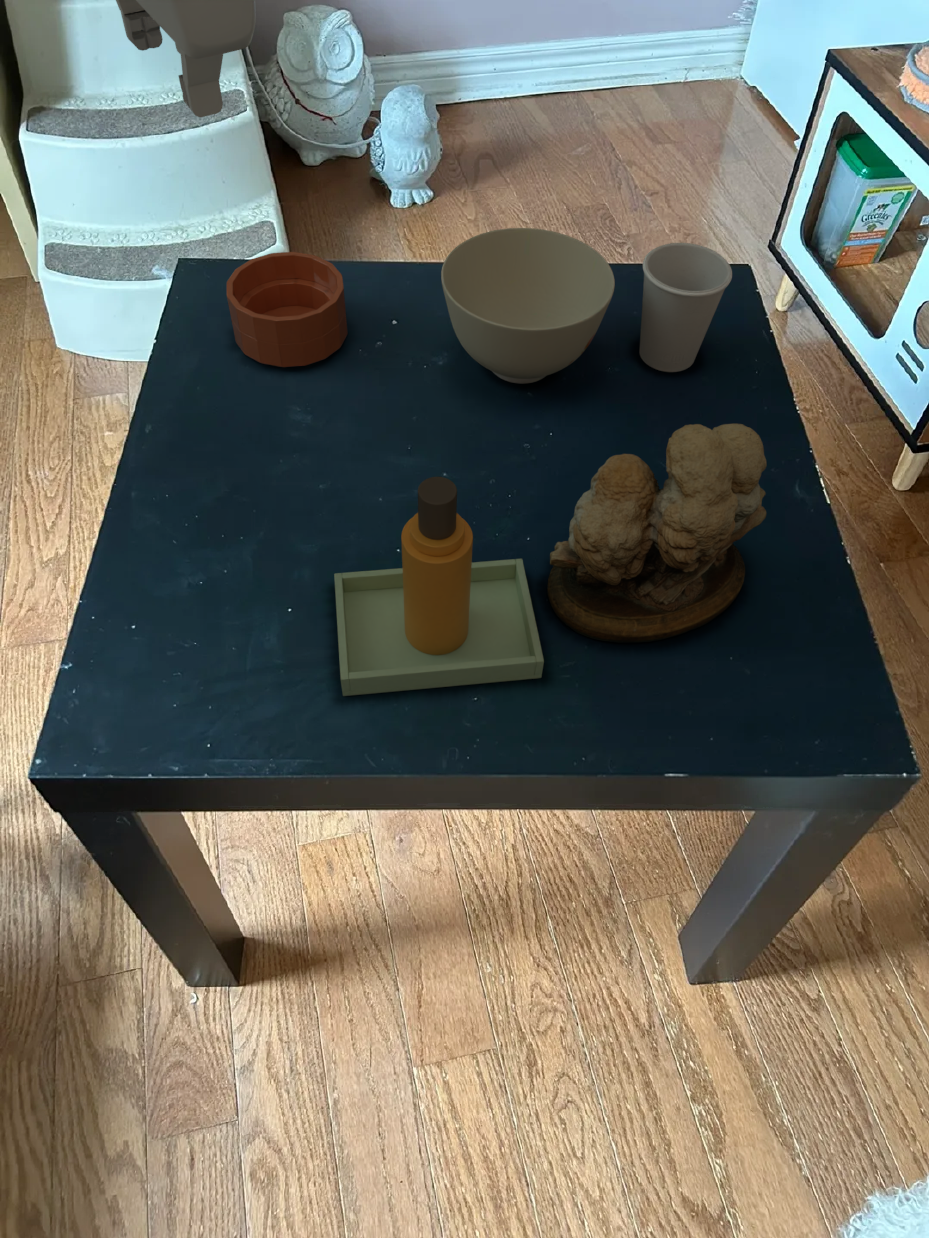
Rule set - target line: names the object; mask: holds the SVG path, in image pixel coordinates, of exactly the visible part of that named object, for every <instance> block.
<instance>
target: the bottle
mask: <svg viewBox="0 0 929 1238" xmlns="http://www.w3.org/2000/svg"><path fill="white" fill-rule="evenodd" d="M457 507H458V488H457V486H456V484H455V482H454V481H452V480H451V479H449V478H447V477H443V476H431V477H428V478H426V479H424V480H423V481H421V482H420V484H419V485H418V487H417V512H416V513H415V514H414V515H413V516H412V517H411V518H410V519H409V520H408V521H407V522H406V523H405V524H404V526H403V528H402V531H401V536H400V539H401V540H400V541H401V562H402V563H401V564H402V567H401V568H403V594H404V621H405V634H406V637H407V639H408V641H409V643H410V644H411V645H412V646H413V647H414V648H416V649H417V650H419V651H421V652H423V653H426V654H430V655H443V654H447V653H450V652H453V651H455V650H456V649H458V648H459V647H460V646H461V645H462V644H463V643H464V642H465V640H466V638H467V635H468V626H469V606H470V586H471V567H472V563H473V544H474V533H473V530H472V528H471V526H470V525H469V523H468V522H467V521H466V520H465V519H464V518H462V516H461V515H460V514H459V513H458V512H457V511H458V510H457Z"/></svg>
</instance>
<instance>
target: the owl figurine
mask: <svg viewBox="0 0 929 1238" xmlns="http://www.w3.org/2000/svg"><path fill="white" fill-rule="evenodd" d="M763 444H764V443H763V441H762V439H761V436H760V435H759V434H758V433H757V432H756V431H755V430H754V429H753V428H751V427H748V426H746V425H745V424H742V423H723V424H721V425H718V426H715V427H713V428H712V429H711V428H709V427H707V426H705V425H702V424H700V423H694V424H685V425H684V426H682V427H680V428H678V429H676V430H674V431H673V433H671V437H669V438H668V442H667V446H666V449H665V450H666V451H665V454H666V455H665V456H666V459H665V460H666V461H665V462H666V463H665V467H666V473H667V474H668V475H667V476H668V478H667V479H665V480H664V482H663V486H662V488H660V486H659V482H658V479H657V478H655V473H654V472H653V470H652V469H651V467H650V466H649V465H648V464H647V463H646V462H645V461H644V460H643V459H642V458H640V457H639V456H638V455H635V454H632V453H622V454H615V455H612V456H610V457H609V458H608V459H606V460H605V462H604V464H602V465H601V466H600V467H599V468H598V470H597V472H596V473H595V474H594V475H593V476H592V477H591V480H590V488H589V490H587V491H585V492H583V493H582V495H581V496H580V498H579V499H578V500H577V502H576V504H575V506H574V513H573V517H572V518H571V520H570V522H569V526H568V527H569V528H568V529H569V530H568V531H569V532H568V533H569V537H568V540H563V541H557V542H556V543H555V545H554V550H553V551H551V552H550V553H549V565H550V566H552V568H551V570H550V571H549V575H548V579H547V587H546V592H547V594H546V595H547V598H548V602H549V603H550V605H549V606H551V609H552V610H553V612H554V613H555V616H557V617H558V618H559V620H560V621H561V623H563V624H565V625H566V626H567V627H568V628H570V629H571V630H573V631H574V632H575V633H577V634H579V635H582V636H583V637H587V638H590V639H592V640H598V641H602V642H612V643H620V644H622V643H625V644H627V643H650V642H655V641H656V642H657V641H661V640H666V639H669V638H672V637H676V636H679V635H682V634H686V633H687V632H690V631H692V630H696V629H699V628H700V627H703V626H704V625H707V624H708V623H710V622H711V621H713V620H714V619H716V618H717V617H718V616H720V615H721V614H723V612H725V610H727V609H728V608H729V607H730V606H731V605H732V604H733V602H734V601H735V600H736V599H737V597H738V596H739V594H740V591H741V590H742V587H743V585H744V583H745V577H746V566H745V562H744V559H743V556H742V554H741V552H740V551H739V549H738V548H737V546H736V545H734V542H738V541H740V540H741V539H742V538H743V537H744V536H745V535H746V534H748V532H751V530H753V529H754V528H756V527H758V526H760V525H761V524H762V523H763V521H764V520H766V517H767V514H768V513H767V510H766V509H765V507H764V506H762V503H763V502H762V501H763V498H764V497H765V496H766V494H767V493H766V491H765V490H764V489H763V488H762V487H761V486H760V484H759V483H760V482H759V481H760V479H761V476H762V473H763V472H764V471H765V470H766V468H767V459H766V456H765V449H764V445H763Z"/></svg>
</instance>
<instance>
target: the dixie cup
mask: <svg viewBox="0 0 929 1238" xmlns="http://www.w3.org/2000/svg"><path fill="white" fill-rule="evenodd" d="M642 270H643V290H642V304H641V305H642V306H641V318H640V319H641V321H640V338H639V351H638V352H639V356H640V358H641V360H642V361H643V362H644V363H645V364H646V365H647V366H649V367H651V368H652V369H655V370H656V371H657V370H658V371H661V372H665V373H677V372H682V371H685V370H687V369H688V368H690V367H691V366H692V365H693V364H694V362H695V360H696V359H697V358H696V357H697V355H698V353H699V351H700V348H701V346H702V344H703V341H704V340H705V339H704V338H705V337H706V334H707V332H708V329H709V328H710V324H711V322H712V320H713V318H714V315H715V313H716V311H717V308H718V306H719V304H720V301H721V300H722V297H723V295H724V292H725V290H726V289H727V287H728V286H729V285H730V283H731V281H732V279H733V269H732V266H731V264H730V263H729V262H728V261H727V259H726V258H725V257H724V256H723V255H721V254H720V253H719V252H717V251H715V250H713V249H711V248H709V247H707V246H703V245H700V244H697V243H690V242H671V243H665V244H662V245H659V246H657V247H655V248H653V249H651V250H650V251H649V252H647V254H646V255H645V257H644V258H643V261H642Z"/></svg>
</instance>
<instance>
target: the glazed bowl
mask: <svg viewBox="0 0 929 1238" xmlns="http://www.w3.org/2000/svg"><path fill="white" fill-rule="evenodd" d="M226 299H227V304H228V309H229V315H230V319H231V324H232V325H231V326H232V329H233V336H234V341H235V343H236V345H237V346H238V347H239V348H240V350H241V351H242V353H243V354H244V355H245V356H246V357H249V358H250V359H252V360H254V361H256V362H258V363H259V364H264V365H270V366H273V367H280V368H291V367H304V366H308V365H311V364H314V363H317V362H321V361H323V360H325V359H327V358H329V357H330V356H331V355H333V353H335V352H337V351H338V350H339V349H341V347H342V345H343V344H344V341H345V340H346V338H347V336H348V323H347V321H348V320H347V311H346V300H345V299H346V298H345V287H344V279H343V274H342V273H341V272H340V271H339V269H337V267H336V266H335V265H334V264H333V263H332V262H330V261H328V260H326V259H324V258H322V257H320V256H318V255H315V254H309V253H305V252H298V251H285V252H284V251H283V252H271V253H267V254H263V255H260V256H257V257H254V258H251V259H249V260H248V261H246V262H245V263H243V264H241V265H240V266H238V267H237V268H235V269H234V271H233V272H232V274H231V275H230V276H229V278H228V279H227V281H226Z"/></svg>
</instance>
